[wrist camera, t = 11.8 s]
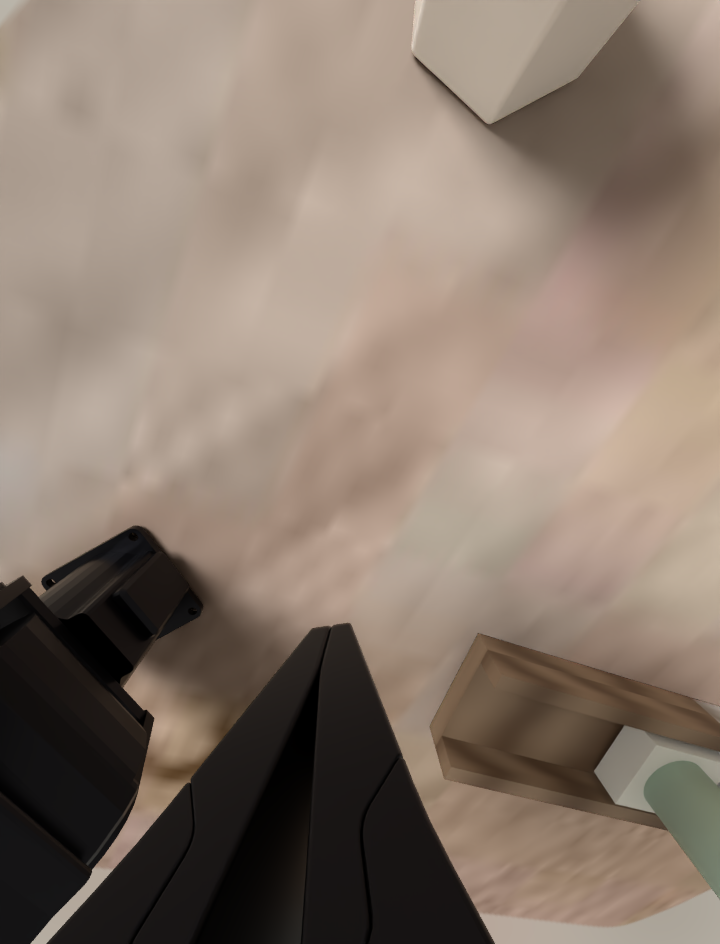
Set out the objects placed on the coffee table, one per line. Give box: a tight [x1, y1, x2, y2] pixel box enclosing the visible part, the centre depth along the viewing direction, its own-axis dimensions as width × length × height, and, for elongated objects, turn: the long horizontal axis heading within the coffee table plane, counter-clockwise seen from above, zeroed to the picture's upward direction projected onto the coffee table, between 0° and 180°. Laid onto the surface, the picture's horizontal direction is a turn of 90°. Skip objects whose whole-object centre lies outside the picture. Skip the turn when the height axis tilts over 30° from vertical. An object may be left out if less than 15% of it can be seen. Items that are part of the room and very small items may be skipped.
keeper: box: [594, 725, 720, 899], centre depth 21 cm, size 6×5×9 cm
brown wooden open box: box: [430, 633, 720, 830], centre depth 24 cm, size 21×8×5 cm, turn 69°
